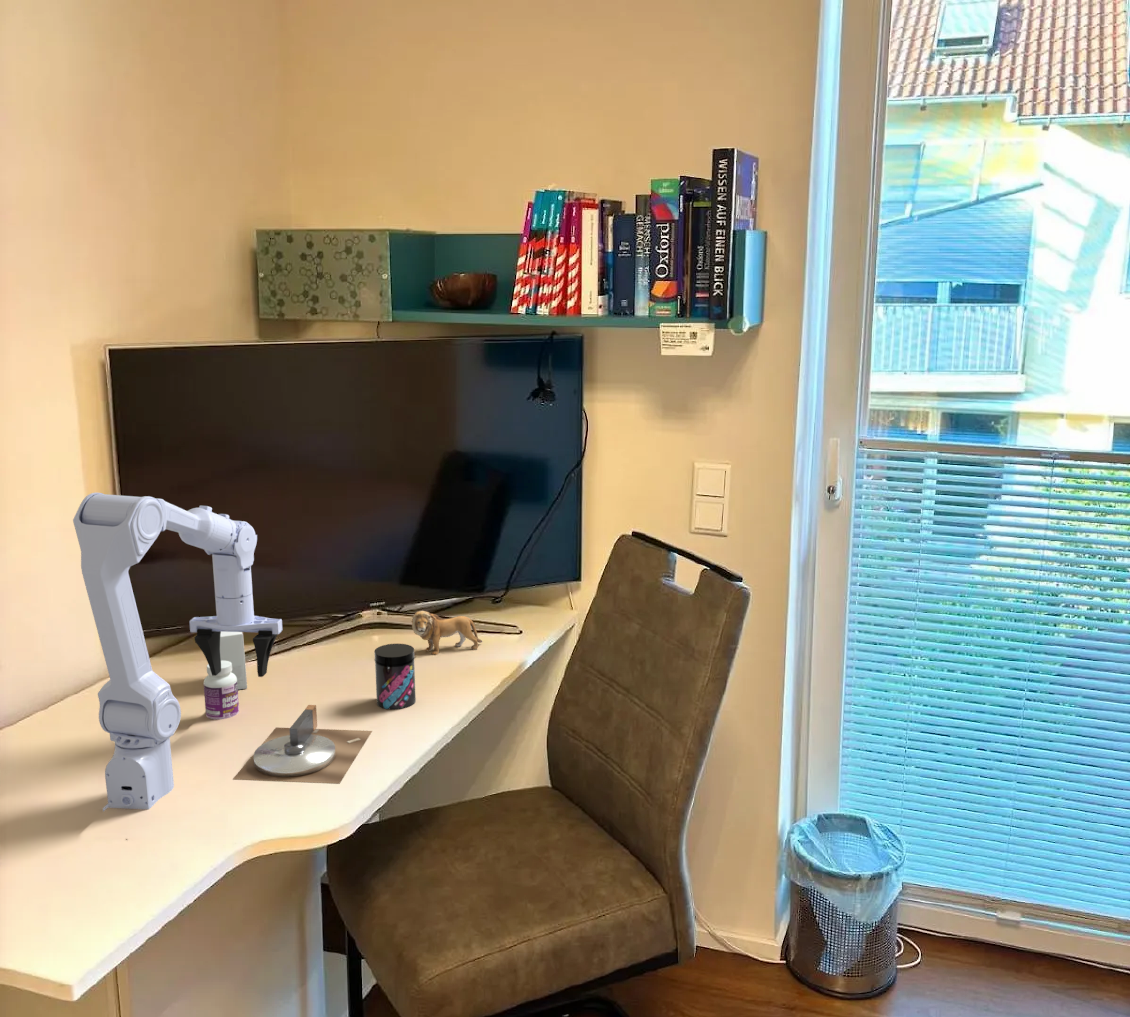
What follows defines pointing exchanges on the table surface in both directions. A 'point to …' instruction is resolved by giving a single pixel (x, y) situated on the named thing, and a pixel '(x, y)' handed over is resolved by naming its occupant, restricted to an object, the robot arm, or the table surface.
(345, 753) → the dial board
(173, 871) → the table surface
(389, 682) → the supplement container
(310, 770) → the dial
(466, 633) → the lion figurine
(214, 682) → the pill bottle
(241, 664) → the small box
